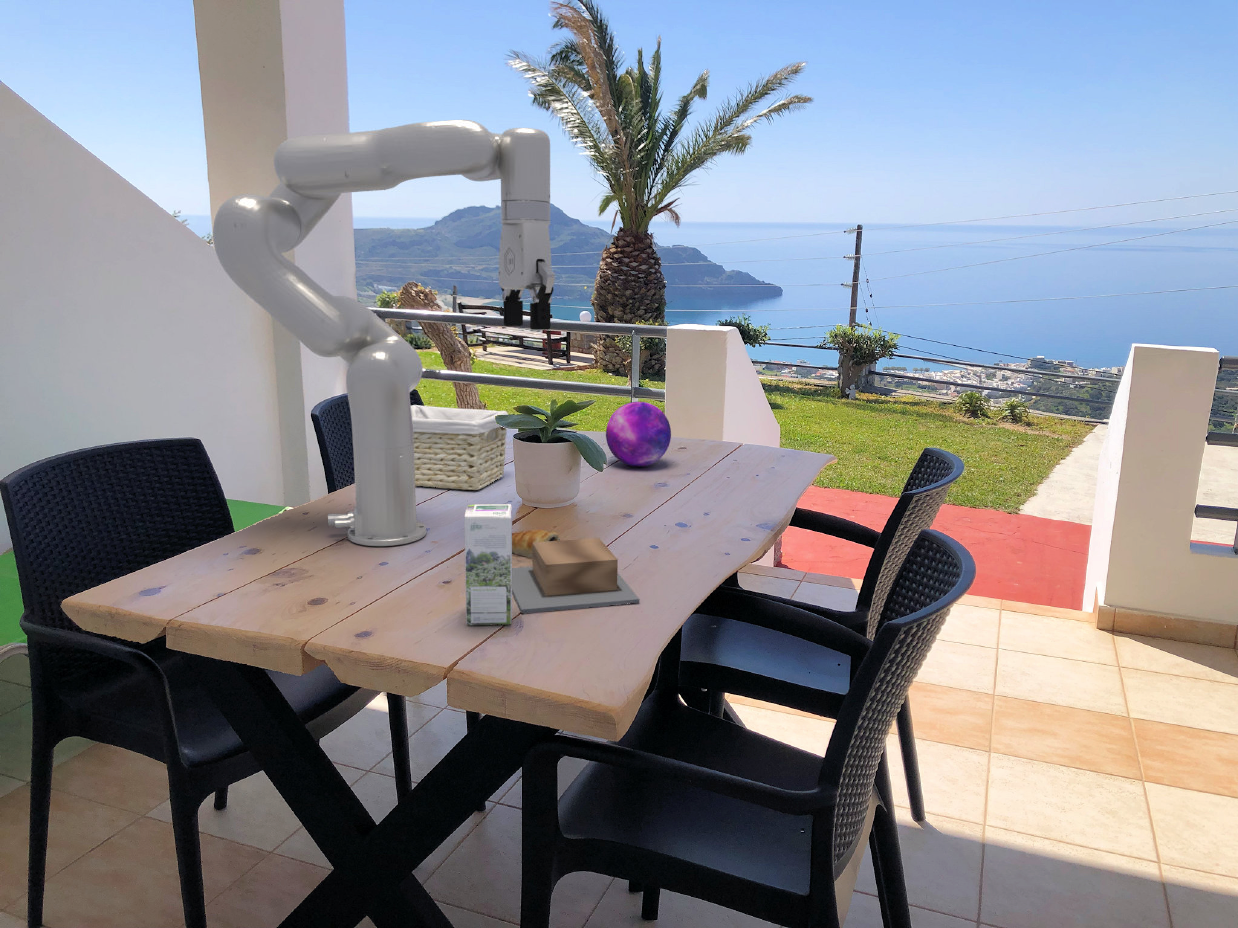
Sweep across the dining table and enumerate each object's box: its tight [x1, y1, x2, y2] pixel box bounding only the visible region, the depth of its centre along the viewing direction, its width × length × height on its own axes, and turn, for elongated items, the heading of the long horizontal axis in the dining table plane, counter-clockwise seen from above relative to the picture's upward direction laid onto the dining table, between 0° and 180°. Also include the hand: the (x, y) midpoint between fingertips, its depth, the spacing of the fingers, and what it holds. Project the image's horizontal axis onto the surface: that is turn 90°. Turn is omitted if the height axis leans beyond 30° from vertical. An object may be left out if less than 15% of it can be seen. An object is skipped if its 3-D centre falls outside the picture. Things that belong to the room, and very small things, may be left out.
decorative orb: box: [605, 401, 672, 468], centre depth 195 cm, size 15×15×15 cm
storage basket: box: [411, 404, 509, 491], centre depth 178 cm, size 24×16×15 cm
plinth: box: [528, 537, 621, 598], centre depth 120 cm, size 11×11×5 cm
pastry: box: [512, 528, 561, 559], centre depth 135 cm, size 9×7×4 cm
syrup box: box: [463, 503, 513, 626], centre depth 107 cm, size 6×6×14 cm
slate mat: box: [512, 566, 640, 614], centre depth 119 cm, size 16×16×1 cm
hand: (526, 327), depth 134 cm, fingers open, 9 cm apart
